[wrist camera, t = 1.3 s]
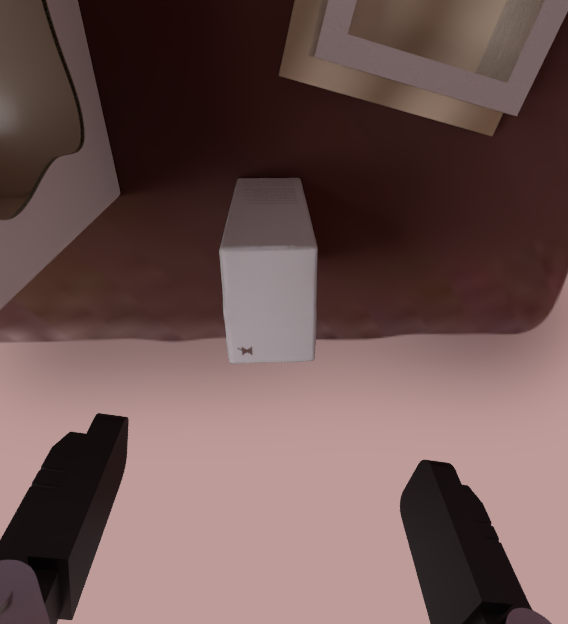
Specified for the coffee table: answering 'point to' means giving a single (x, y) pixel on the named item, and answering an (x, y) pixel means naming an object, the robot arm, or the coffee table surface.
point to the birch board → (406, 37)
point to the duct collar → (444, 78)
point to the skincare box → (269, 273)
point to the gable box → (47, 138)
